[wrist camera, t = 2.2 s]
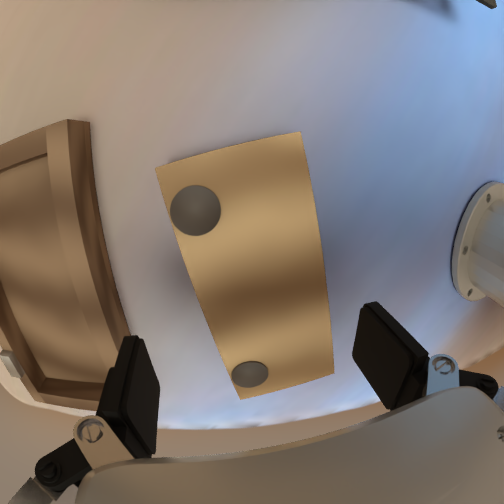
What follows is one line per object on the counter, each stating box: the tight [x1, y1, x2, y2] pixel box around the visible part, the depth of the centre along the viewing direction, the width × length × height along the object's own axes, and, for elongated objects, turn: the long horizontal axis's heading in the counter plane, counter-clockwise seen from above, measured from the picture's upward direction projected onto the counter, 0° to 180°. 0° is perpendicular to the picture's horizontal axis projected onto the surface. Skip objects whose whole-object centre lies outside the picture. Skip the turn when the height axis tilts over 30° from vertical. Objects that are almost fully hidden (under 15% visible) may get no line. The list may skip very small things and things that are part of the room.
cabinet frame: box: [0, 119, 131, 411], centre depth 15 cm, size 22×12×4 cm, turn 3°
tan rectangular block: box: [155, 132, 334, 400], centre depth 17 cm, size 16×7×4 cm, turn 13°
